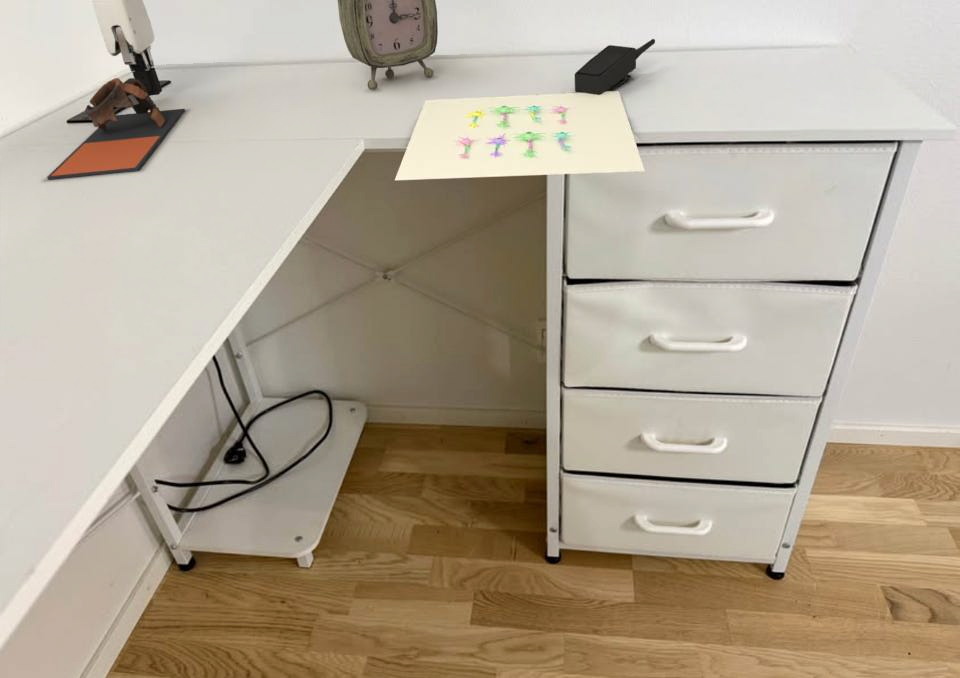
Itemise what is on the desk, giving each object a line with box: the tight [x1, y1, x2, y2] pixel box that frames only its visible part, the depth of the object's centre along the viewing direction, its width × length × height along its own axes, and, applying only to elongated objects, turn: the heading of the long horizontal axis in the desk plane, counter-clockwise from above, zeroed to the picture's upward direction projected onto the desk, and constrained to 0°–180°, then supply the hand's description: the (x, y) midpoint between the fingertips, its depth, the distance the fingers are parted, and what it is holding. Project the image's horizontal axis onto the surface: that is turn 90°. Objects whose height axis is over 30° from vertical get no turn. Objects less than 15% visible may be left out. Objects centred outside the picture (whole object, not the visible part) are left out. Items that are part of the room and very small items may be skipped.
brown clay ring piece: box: [84, 77, 165, 130], centre depth 105 cm, size 12×10×8 cm
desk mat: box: [46, 108, 186, 181], centre depth 102 cm, size 12×26×1 cm, turn 6°
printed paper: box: [394, 90, 646, 181], centre depth 93 cm, size 30×30×2 cm
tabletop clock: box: [337, 0, 439, 91], centre depth 112 cm, size 14×9×25 cm, turn 120°
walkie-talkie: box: [574, 38, 656, 95], centre depth 109 cm, size 6×6×20 cm
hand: (151, 93), depth 114 cm, fingers closed
